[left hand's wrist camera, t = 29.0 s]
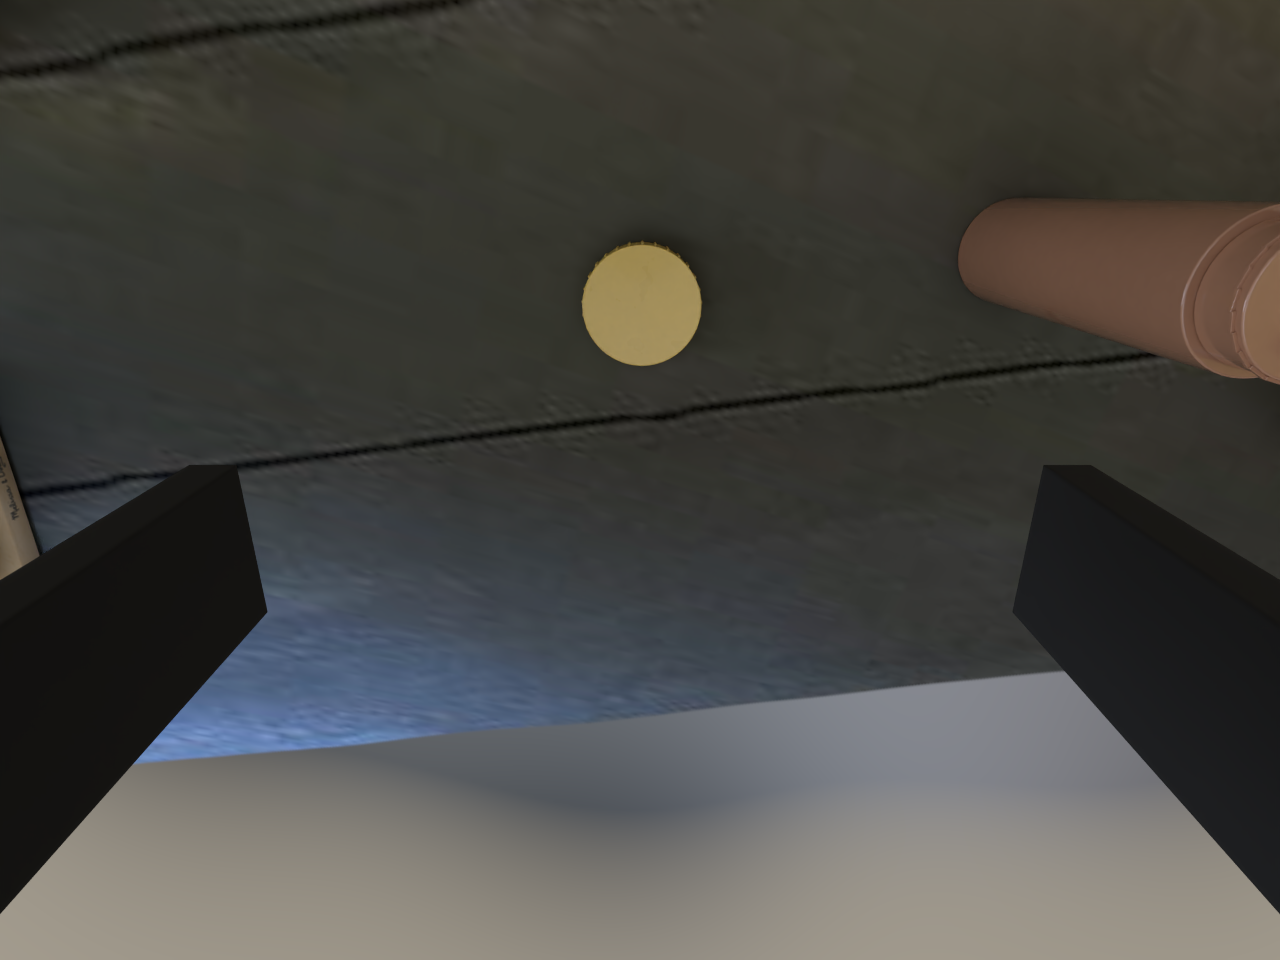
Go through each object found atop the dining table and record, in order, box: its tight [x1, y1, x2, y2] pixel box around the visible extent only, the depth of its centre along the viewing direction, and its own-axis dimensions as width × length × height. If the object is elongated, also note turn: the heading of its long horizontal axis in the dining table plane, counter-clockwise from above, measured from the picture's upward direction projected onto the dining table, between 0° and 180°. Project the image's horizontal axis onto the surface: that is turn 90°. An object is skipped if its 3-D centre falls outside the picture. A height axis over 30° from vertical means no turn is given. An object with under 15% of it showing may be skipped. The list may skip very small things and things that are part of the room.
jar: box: [958, 197, 1280, 385], centre depth 30 cm, size 5×5×20 cm
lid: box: [582, 240, 702, 366], centre depth 39 cm, size 6×6×2 cm
